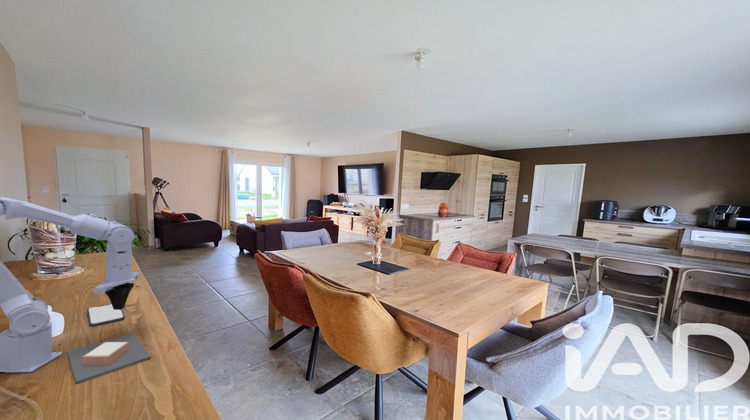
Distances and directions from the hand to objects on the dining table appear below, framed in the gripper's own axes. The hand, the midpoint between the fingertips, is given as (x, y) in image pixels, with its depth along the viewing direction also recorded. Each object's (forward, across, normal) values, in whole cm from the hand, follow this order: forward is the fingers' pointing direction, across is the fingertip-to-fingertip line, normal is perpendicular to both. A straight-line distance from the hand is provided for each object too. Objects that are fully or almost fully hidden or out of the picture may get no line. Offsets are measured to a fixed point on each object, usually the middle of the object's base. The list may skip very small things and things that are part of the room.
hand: (118, 308), depth 85 cm
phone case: (+10, +16, +15) cm, 24 cm away
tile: (+8, -7, -5) cm, 12 cm away
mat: (+9, -9, -4) cm, 14 cm away
